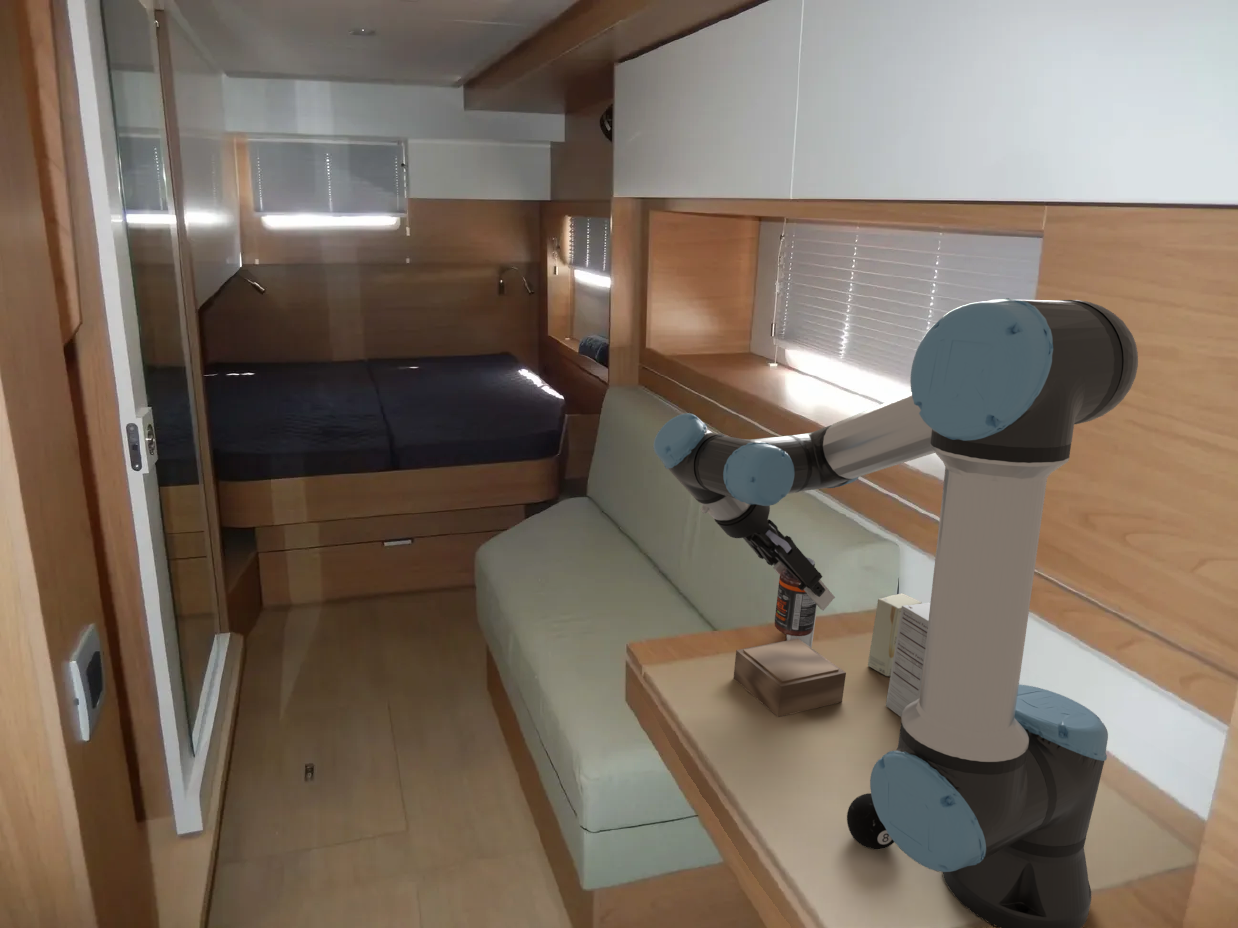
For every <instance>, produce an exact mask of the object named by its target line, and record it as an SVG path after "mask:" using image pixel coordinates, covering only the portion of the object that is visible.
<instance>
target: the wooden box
mask: <svg viewBox="0 0 1238 928" xmlns="http://www.w3.org/2000/svg"><path fill="white" fill-rule="evenodd" d="M733 670H734V671H733V679H734V680H735V682H736V683H738V684H739V685H741V686H742V687H743V688H744V689H745V690H746V691H747V692H749V694H751V695H752V696H753V697H754V698H755V699H756V700H757V701H759V702H760V703H761V704H762V705H764V707H766V709H768V710H769V711H770V712H772V713H773V714H774V715H775V716H776V717H783V716H788V715H791V714H796V713H800V712H805V711H810V710H813V709H817V708H822V707H826V706H831V705H834V703H835V704H839V703H838V702H840V703H842V702H843V699H844V698H843V696H844V691H845V689H844V688H845V682H846V674H847V672H846V671H844V670H843V669H842V668H841V667H839V666H838V665H836V664H835V663H833V662H832V661H831V660H829V659H827V658H826V657H825V656H824V655H822V654H820V653H819V652H817V651H816V650H815V649H814V648H811V647H809V646H808V645H806V644H805V643H804V642H802V641H801V640H799V639H793V640H787V639H786V640H783V641H778V642H771V643H768V644H766V643H765V644H762V645H755V646H752V647H745V648H739V649H736V651H735V661H734V668H733ZM830 704H831V705H830Z"/></svg>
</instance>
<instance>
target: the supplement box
mask: <svg viewBox="0 0 1238 928" xmlns="http://www.w3.org/2000/svg"><path fill="white" fill-rule="evenodd" d="M930 602H931V601H930ZM930 602H929V601H928V602H922V603H921V604H914V605H904V606H902V608H901V614H900V620H899V626H898V632H897V639H896V645H895V652H894V658H893V664H892V670H891V675H890V676H889V677H890V678H889V683H888V689H887V694H886V695H887V697H886V700H885V706H886V707H887V708H888V709H890V710H891V711H892V712H893V713H895V714H896V715H898V716H899V717H900V718H901V716H902V712H903V710H904V708H905V707H906V706H907V705H909V704H910V703H912V702H914V701H916V700H917V699H919V698H920V693H921V684H922V675H923V666H924V657H925V648H926V639H927V630H928V621H929V612H930Z"/></svg>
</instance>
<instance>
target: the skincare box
mask: <svg viewBox="0 0 1238 928" xmlns="http://www.w3.org/2000/svg"><path fill="white" fill-rule="evenodd" d="M921 603H923V602H922V601H920V600H918V599H916V598H914V597H912V596H909V595H907V594H905V593H902V592H901V593H897V594H893V595H892V594H891V595H888V596H885V597H880V598H878V599H877V604H876V611H875V615H874V616H875V617H874V623H873V629H872V635H871V644H870V648H869V649H870V650H869V656H868V661H867V666H868V667H869V668H871V669H873V670H874V671H876V672H878V673H880V674H882V675H884V676H885V677H890V676H891V670H892V664H893V658H894V652H895V645H896V639H897V632H898V626H899V620H900V614H901V608H902V606H904V605H914V604H921Z"/></svg>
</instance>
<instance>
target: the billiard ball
mask: <svg viewBox="0 0 1238 928" xmlns="http://www.w3.org/2000/svg"><path fill="white" fill-rule="evenodd" d="M846 824H847V827H848V830H849V833H850V835H851V836H852V838H853V839H854V840H855V841H856V842H857V843H858V844H859V845H861V846H862V847H865V848H867V849H869V850H870V849H871V850H876V851H877V850H883V849H886V848H888V847H890V846H892V845H893V844H895V842H894V841H893V840H892V838H891V837H890V836H889V834H888V833H887V831H886V828H885V826H884V825H883V823H882V822H881V821H880V819H879V817H878V815H877V812H876V810H875V807H874V804H873V800H872V796H871V792H868V793H863V794H861V795H859V796H857V797H856V798H854V799H853V800H852V802H851V803H850V805H849V807H848V809H847V813H846Z"/></svg>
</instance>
